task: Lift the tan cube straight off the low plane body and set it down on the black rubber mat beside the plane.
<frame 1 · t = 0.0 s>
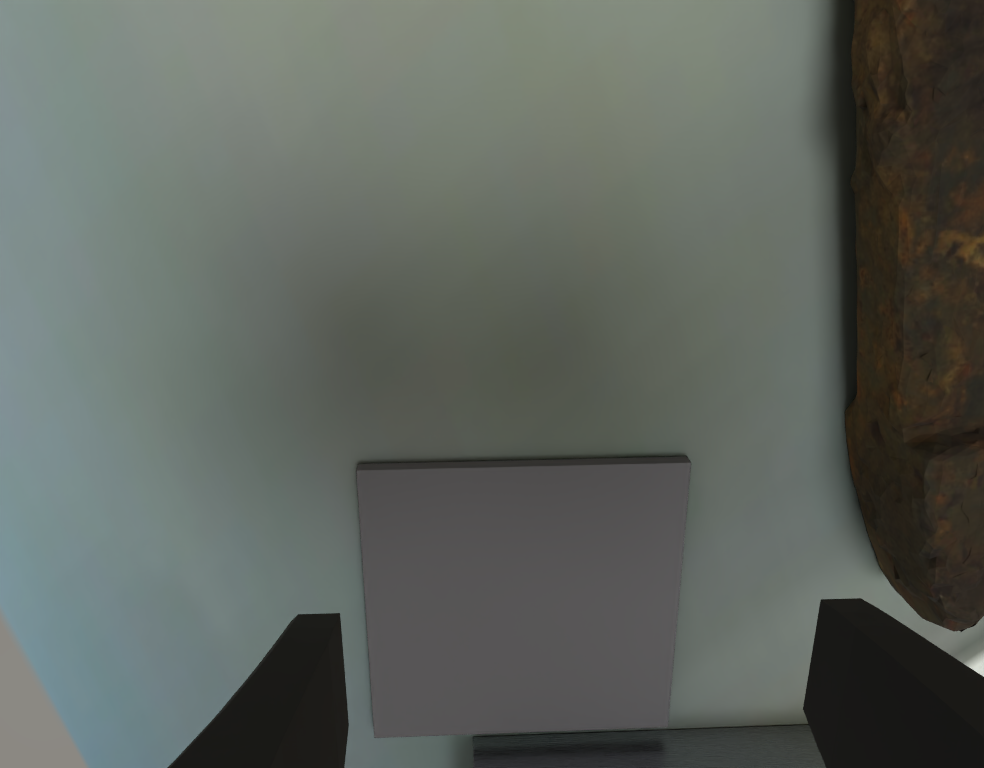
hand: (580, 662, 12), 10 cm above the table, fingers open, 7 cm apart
mat: (522, 600, 24), on the table
hand tool: (904, 251, 21), on the table
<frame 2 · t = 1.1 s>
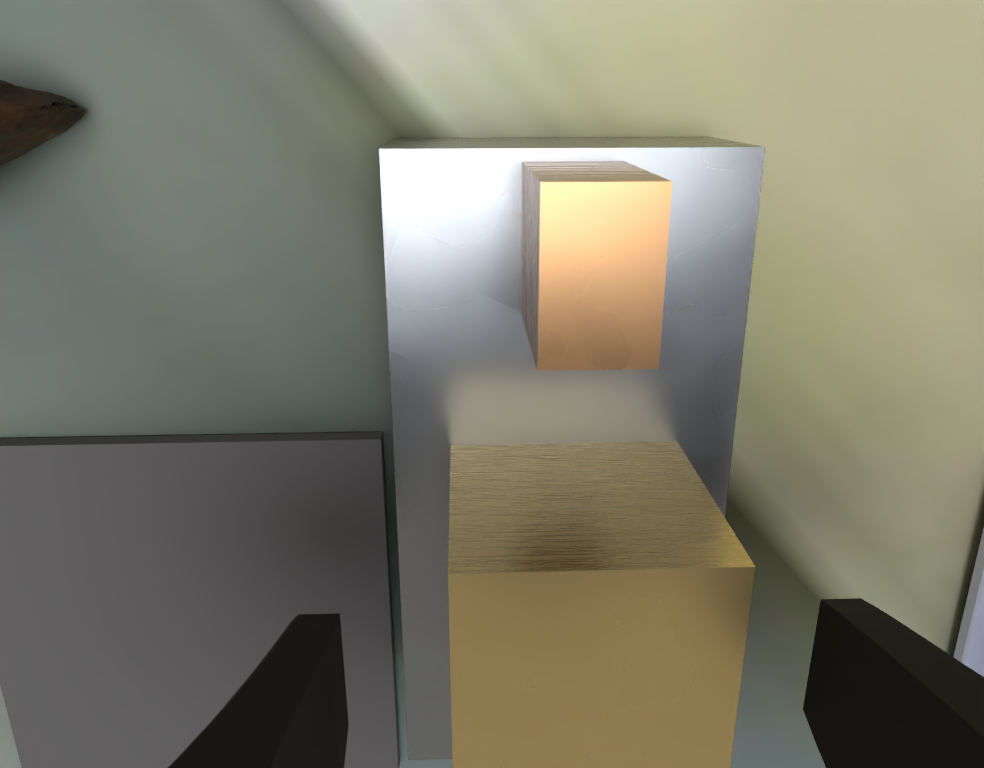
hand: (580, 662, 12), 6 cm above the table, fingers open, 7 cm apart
mat: (195, 614, 19), on the table
tan cube: (561, 552, 15), point 3 cm above the table, touching plane body
plane body: (546, 428, 17), on the table
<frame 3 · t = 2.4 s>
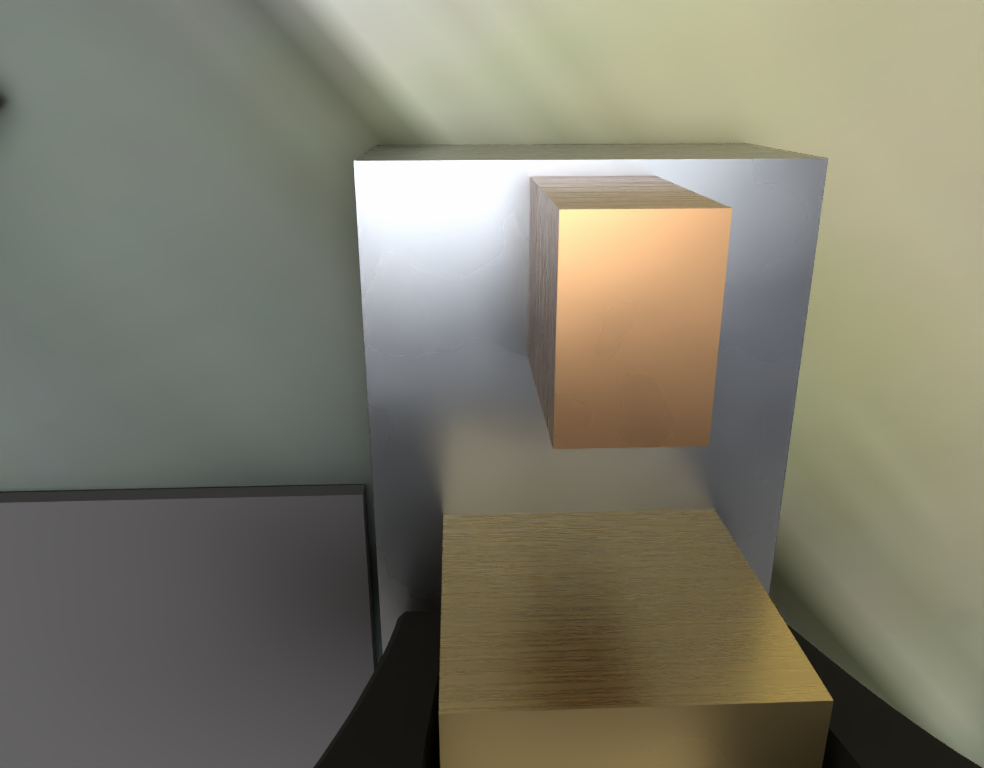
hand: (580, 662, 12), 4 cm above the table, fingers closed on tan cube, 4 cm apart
mat: (152, 690, 16), on the table
tan cube: (574, 636, 13), point 3 cm above the table, touching gripper, plane body
plane body: (554, 480, 15), on the table
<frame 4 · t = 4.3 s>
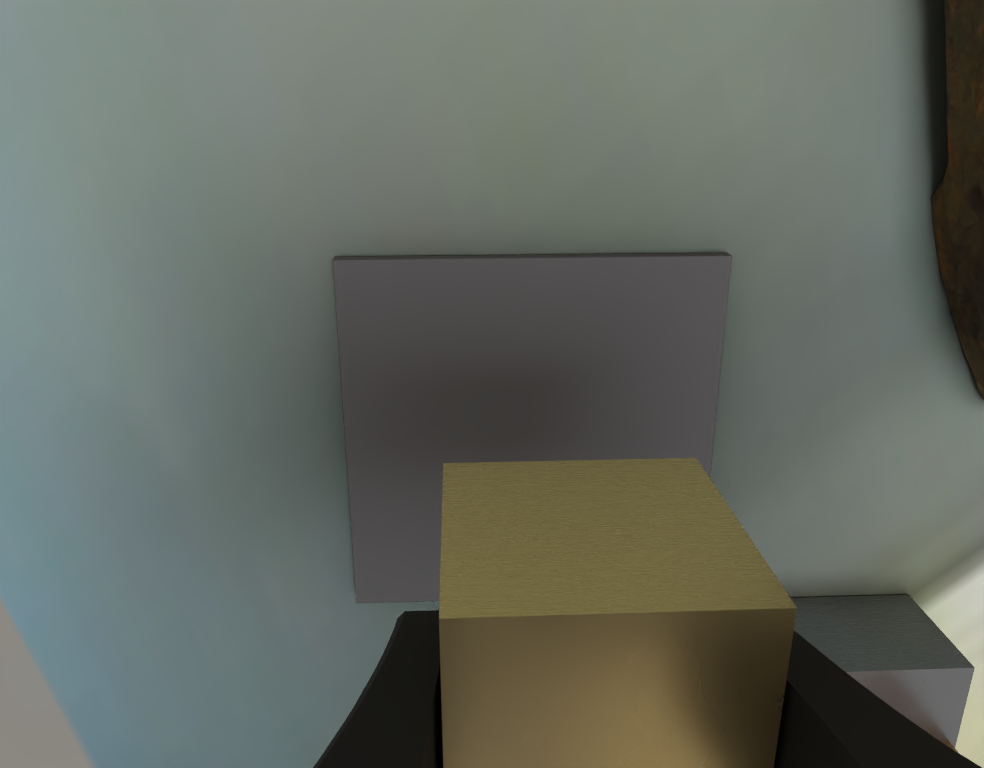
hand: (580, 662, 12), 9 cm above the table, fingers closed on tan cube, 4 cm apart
mat: (529, 434, 20), on the table
tan cube: (566, 580, 13), point 7 cm above the table, touching gripper
plane body: (683, 690, 23), on the table
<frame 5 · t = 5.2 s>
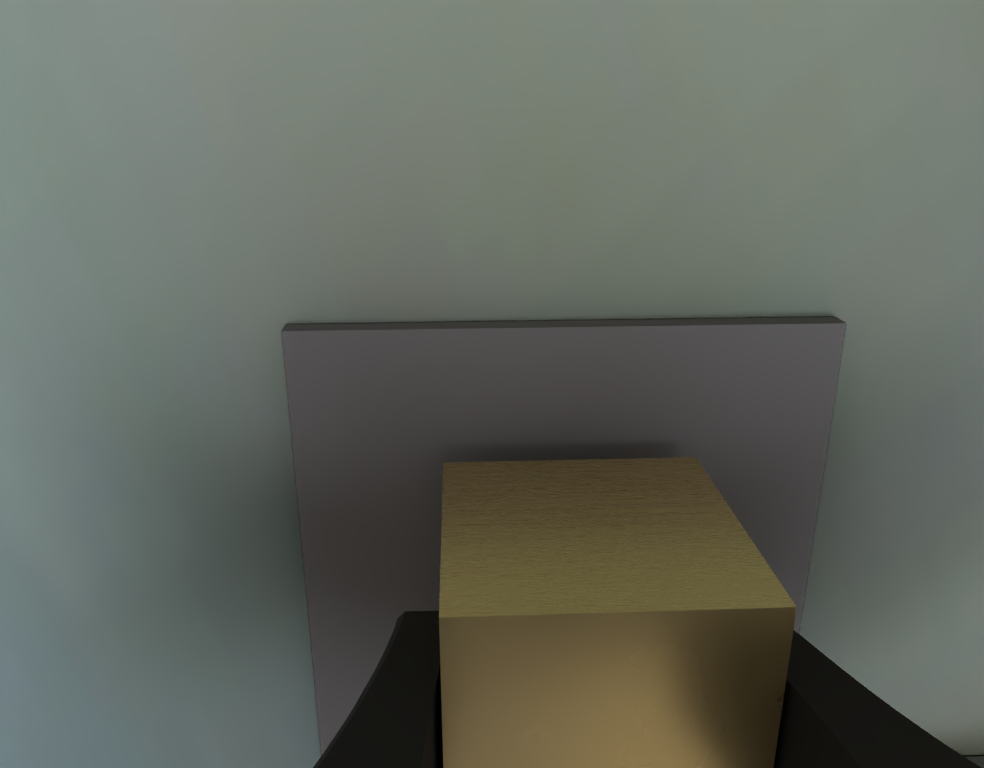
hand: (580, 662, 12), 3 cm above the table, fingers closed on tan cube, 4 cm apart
mat: (557, 559, 15), on the table
tan cube: (566, 580, 13), point 1 cm above the table, touching gripper
when the fingers open (3 cm above the table, at t = 6.1 s): tan cube stays where it is, resting on mat.
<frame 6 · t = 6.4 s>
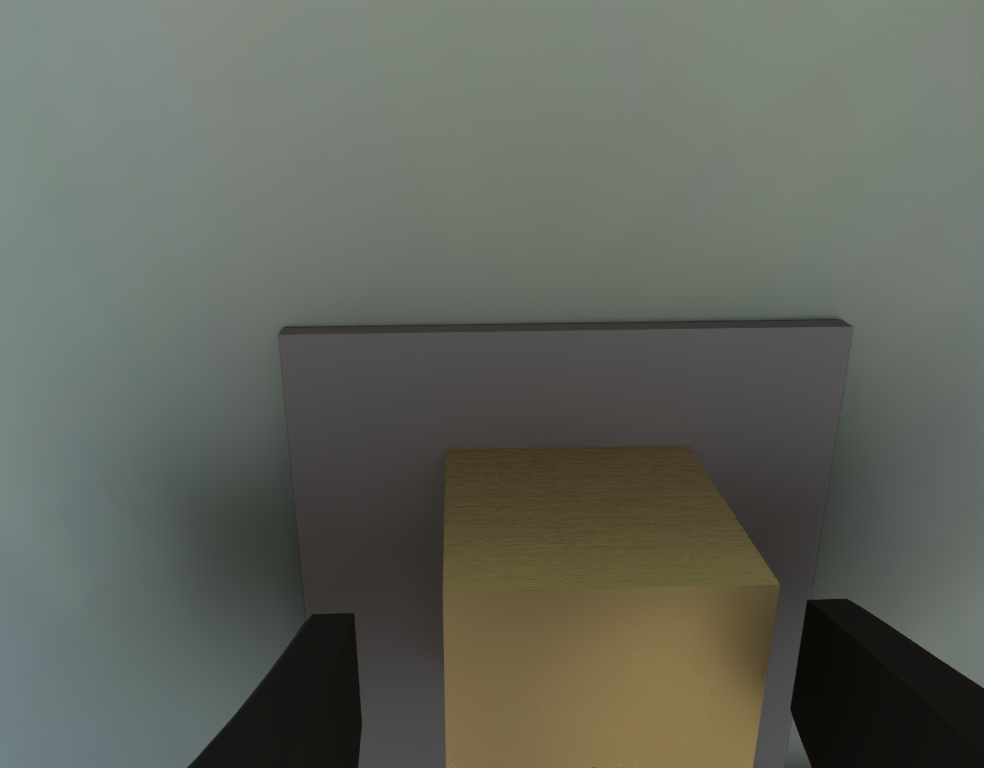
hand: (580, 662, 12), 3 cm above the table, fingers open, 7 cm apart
mat: (559, 565, 15), on the table
tan cube: (563, 562, 14), resting on mat
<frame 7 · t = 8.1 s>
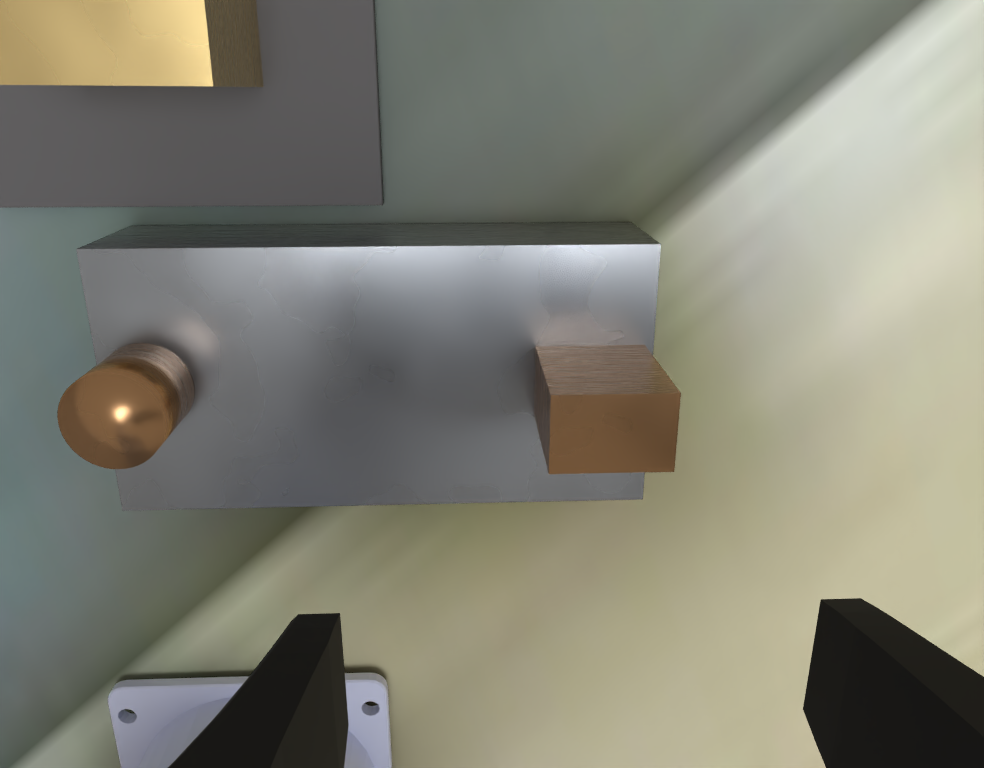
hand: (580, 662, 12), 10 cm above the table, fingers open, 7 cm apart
plane body: (390, 342, 21), on the table
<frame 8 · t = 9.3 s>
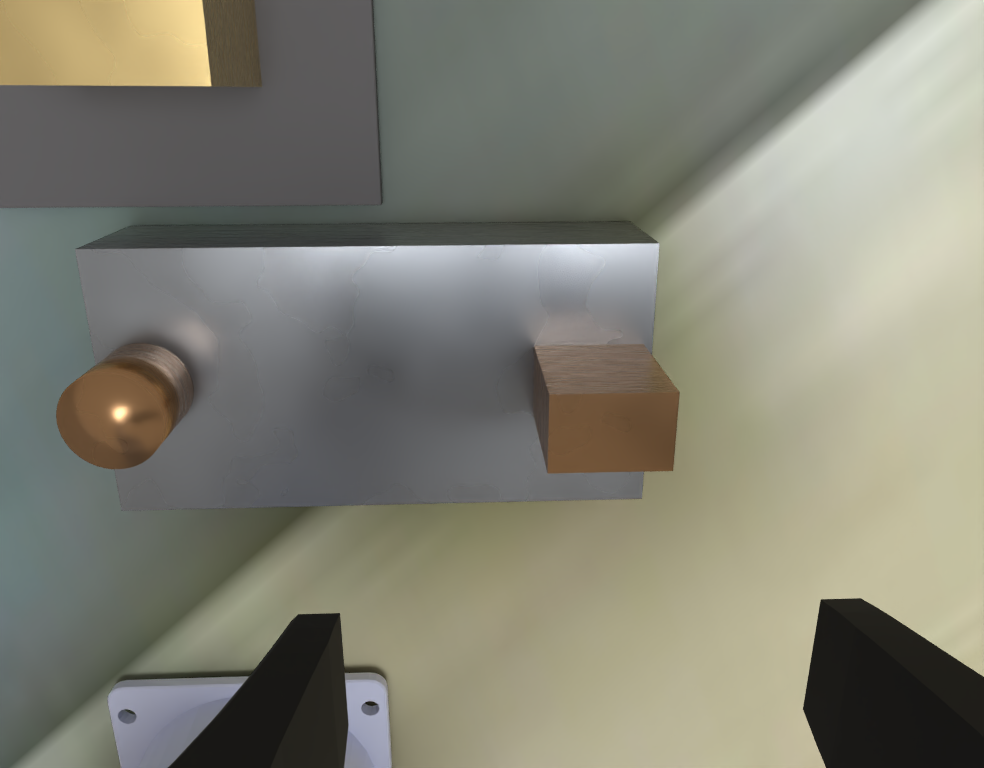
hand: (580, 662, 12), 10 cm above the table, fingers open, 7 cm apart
plane body: (389, 342, 21), on the table
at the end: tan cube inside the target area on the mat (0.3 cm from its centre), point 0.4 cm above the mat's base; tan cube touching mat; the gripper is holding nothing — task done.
